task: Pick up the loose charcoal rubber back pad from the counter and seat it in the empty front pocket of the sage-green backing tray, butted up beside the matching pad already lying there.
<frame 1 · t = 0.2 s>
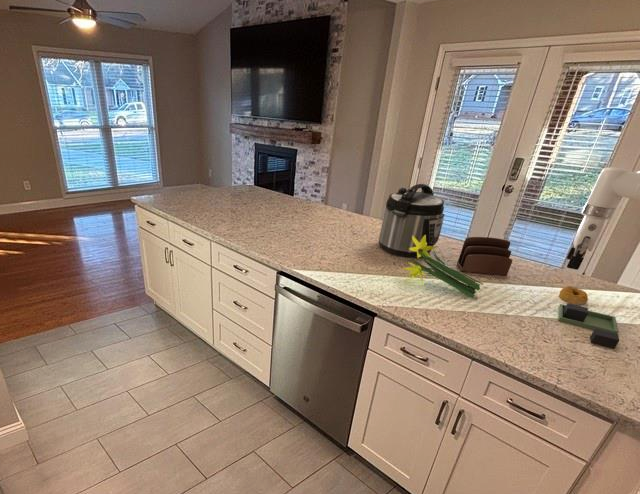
hand: (571, 264, 136), 23 cm above the countertop, tool pointing down, fingers open, 9 cm apart
pressure cooker: (405, 250, 212), on the countertop
daffodil flowers: (438, 285, 176), on the countertop
backing tray: (585, 322, 153), on the countertop
letter holder: (481, 270, 193), on the countertop
loose pad: (600, 344, 140), on the countertop
bagel: (571, 301, 168), on the countertop
seated pad: (572, 317, 154), point 1 cm above the countertop, touching backing tray
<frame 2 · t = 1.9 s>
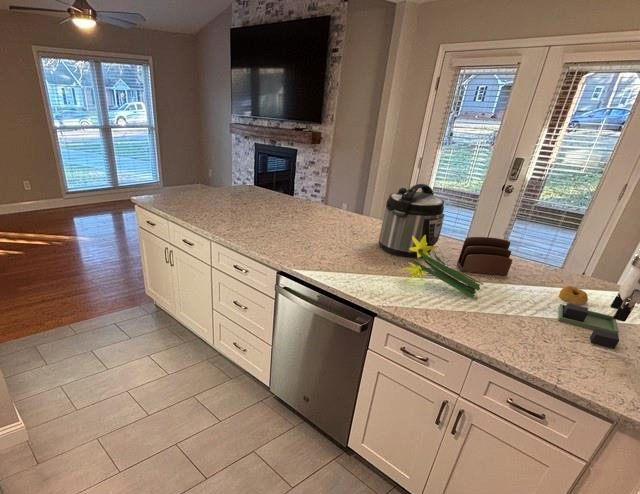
hand: (617, 314, 133), 11 cm above the countertop, tool pointing down, fingers open, 9 cm apart
nothing on the countertop moved.
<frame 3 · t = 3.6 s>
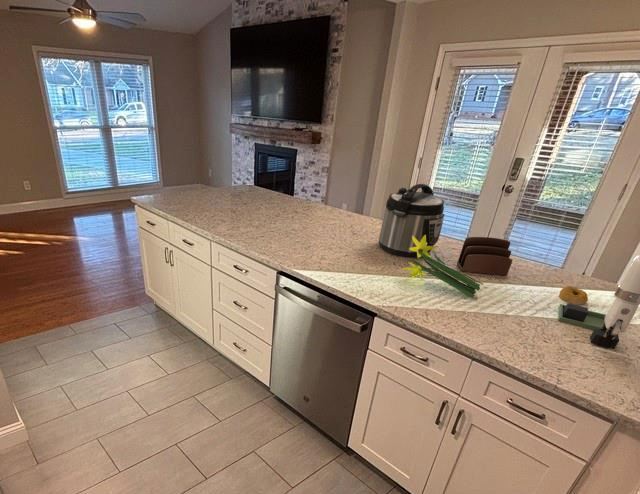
hand: (601, 343, 139), 0 cm above the countertop, tool pointing down, fingers closed on loose pad, 5 cm apart
loose pad: (600, 344, 140), on the countertop, touching gripper
everything else where it was.
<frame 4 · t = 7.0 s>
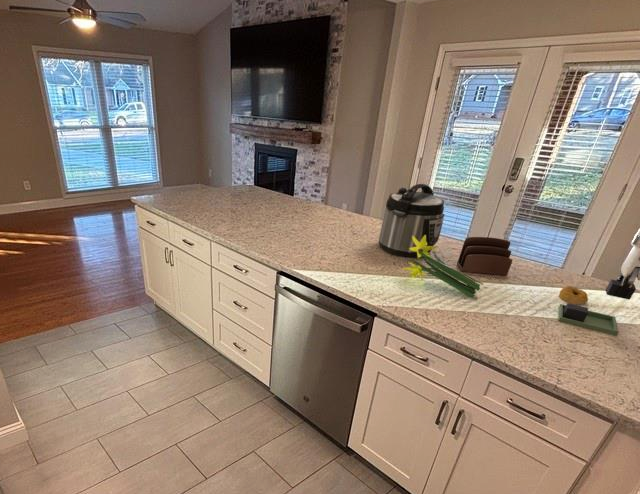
hand: (618, 293, 142), 13 cm above the countertop, tool pointing down, fingers closed on loose pad, 5 cm apart
loose pad: (617, 294, 143), point 13 cm above the countertop, touching gripper
everything else where it was.
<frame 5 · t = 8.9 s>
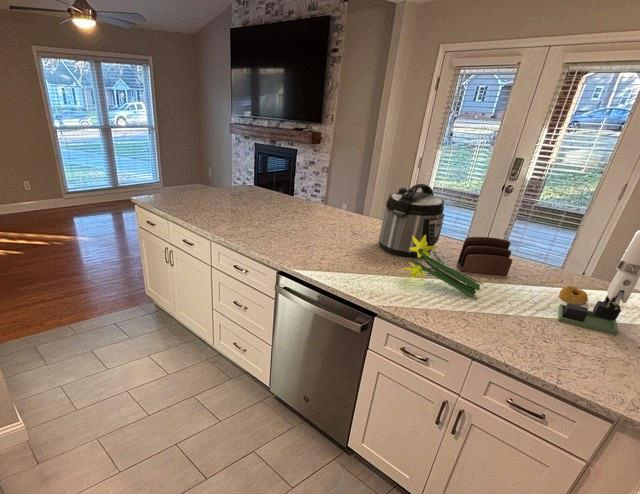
hand: (604, 314, 149), 4 cm above the countertop, tool pointing down, fingers closed on loose pad, 5 cm apart
loose pad: (603, 315, 149), point 4 cm above the countertop, touching gripper
everything else where it was.
when the fingers open (1 cm above the countertop, at t = 10.3 s): loose pad stays where it is, resting on backing tray.
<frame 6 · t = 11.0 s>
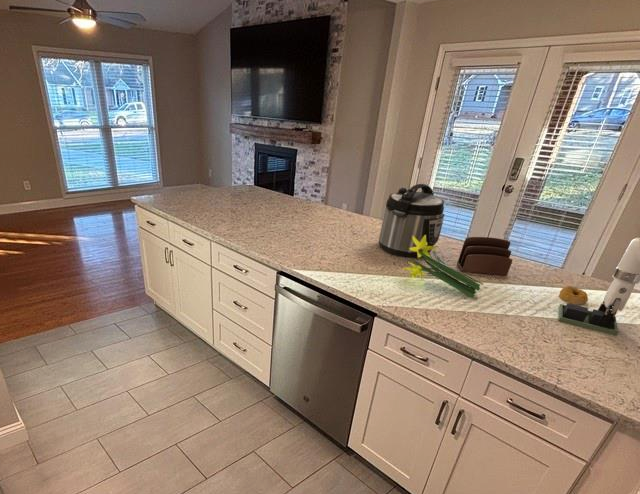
hand: (602, 319, 149), 2 cm above the countertop, tool pointing down, fingers open, 9 cm apart
loose pad: (599, 323, 151), point 1 cm above the countertop, touching backing tray
everything else where it was.
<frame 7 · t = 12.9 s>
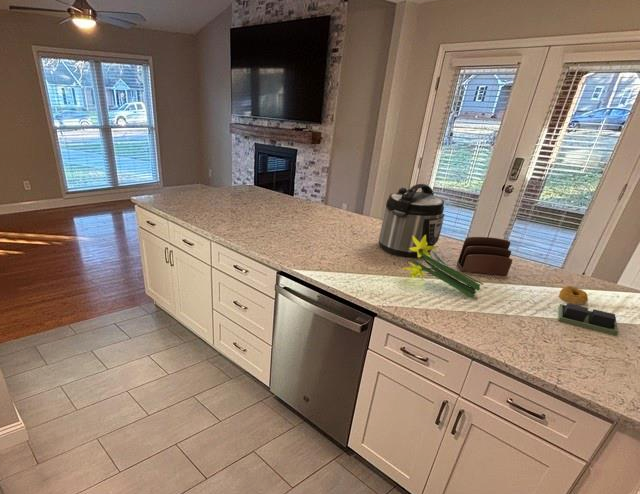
nothing on the countertop moved.
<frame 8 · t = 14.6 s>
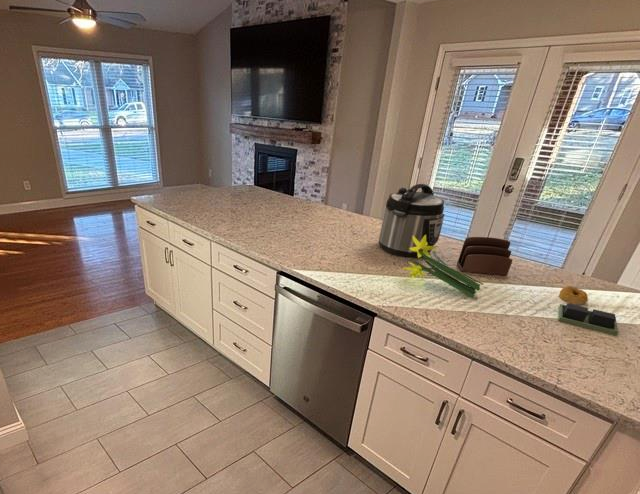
nothing on the countertop moved.
at the end: loose pad inside the target area in the backing tray (0.4 cm from its centre), point 0.6 cm above the backing tray's base; loose pad tilted 0°; seated pad moved 0.0 cm from its start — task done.
